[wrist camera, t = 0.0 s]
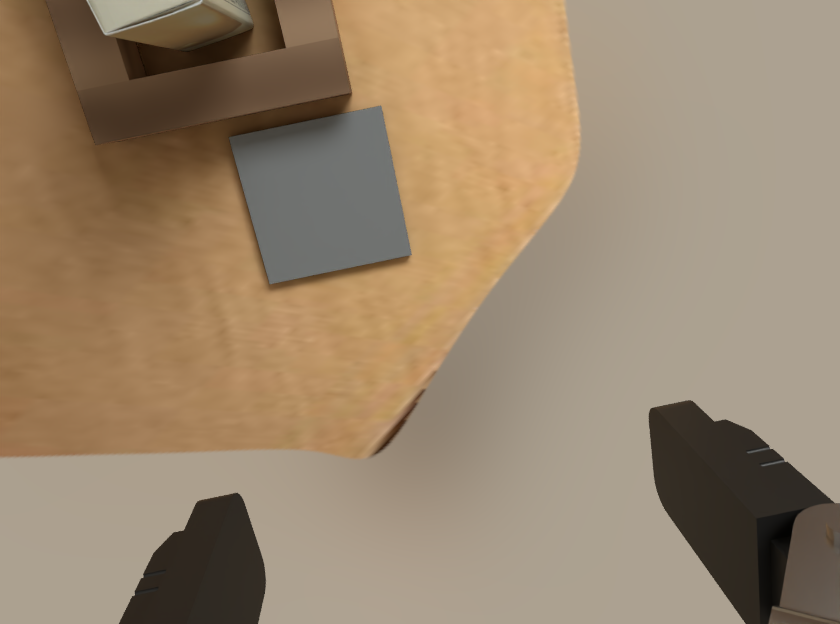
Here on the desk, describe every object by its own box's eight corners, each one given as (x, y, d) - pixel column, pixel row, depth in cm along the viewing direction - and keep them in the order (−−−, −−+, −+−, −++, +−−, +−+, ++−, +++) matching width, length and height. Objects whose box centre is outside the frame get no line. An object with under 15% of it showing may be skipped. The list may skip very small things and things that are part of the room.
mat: (230, 136, 38) (228, 137, 38) (381, 105, 38) (381, 105, 38) (271, 281, 41) (269, 284, 40) (411, 252, 41) (411, 254, 40)
